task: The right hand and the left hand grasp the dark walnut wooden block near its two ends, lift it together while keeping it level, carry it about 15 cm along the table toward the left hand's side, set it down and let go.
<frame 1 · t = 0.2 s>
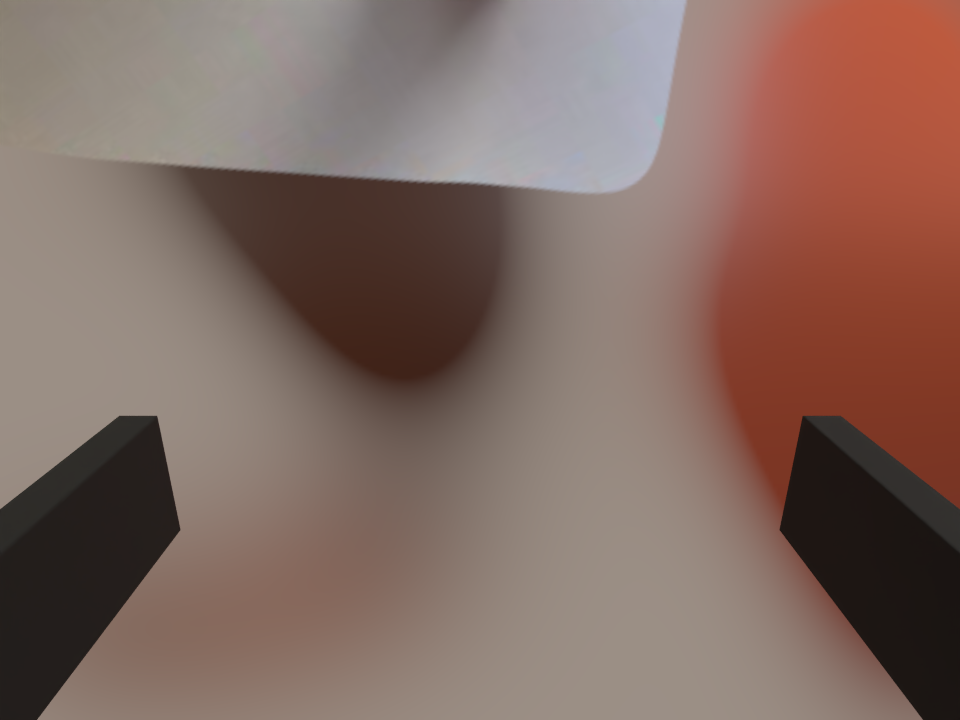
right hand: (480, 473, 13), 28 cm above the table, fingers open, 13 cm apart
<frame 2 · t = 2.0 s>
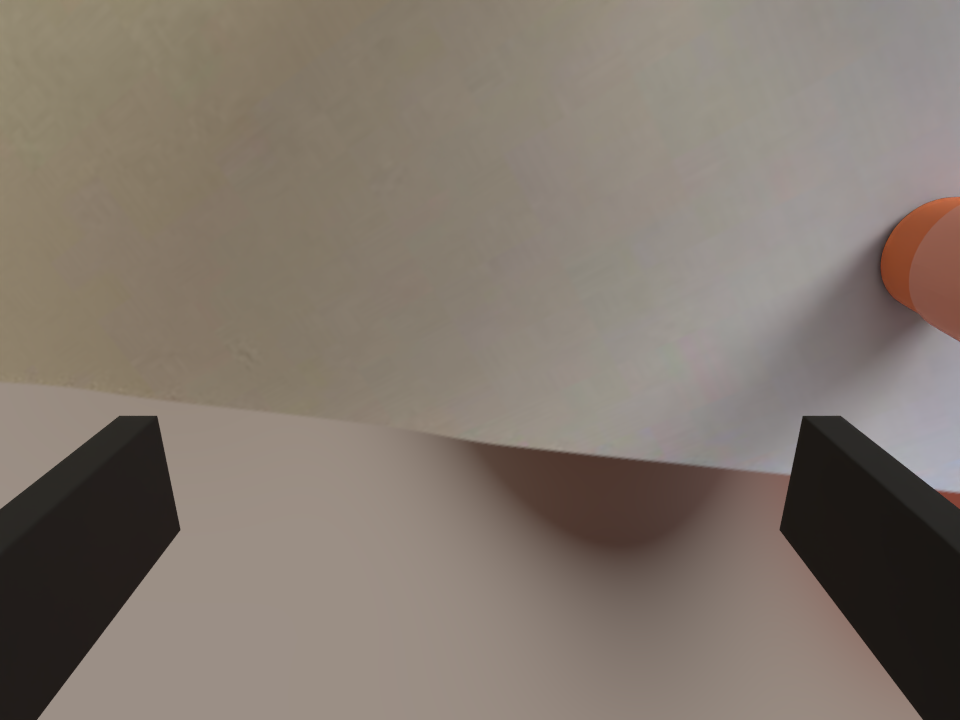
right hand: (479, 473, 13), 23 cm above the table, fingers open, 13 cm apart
cup with straw: (932, 253, 34), on the table
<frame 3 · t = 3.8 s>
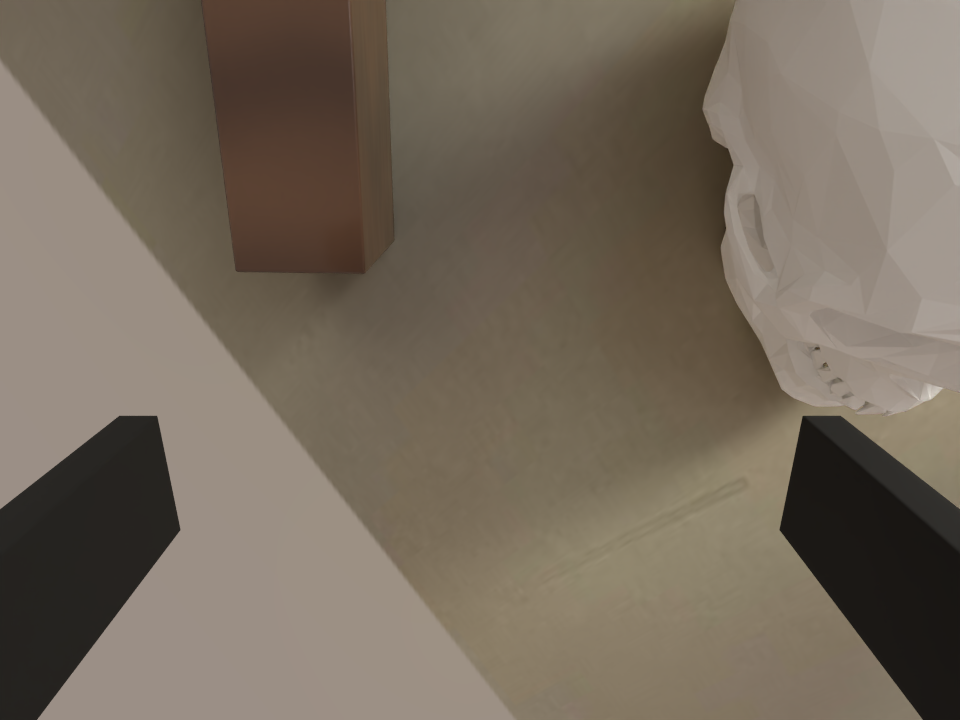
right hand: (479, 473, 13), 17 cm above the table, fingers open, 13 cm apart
skull: (830, 151, 26), on the table
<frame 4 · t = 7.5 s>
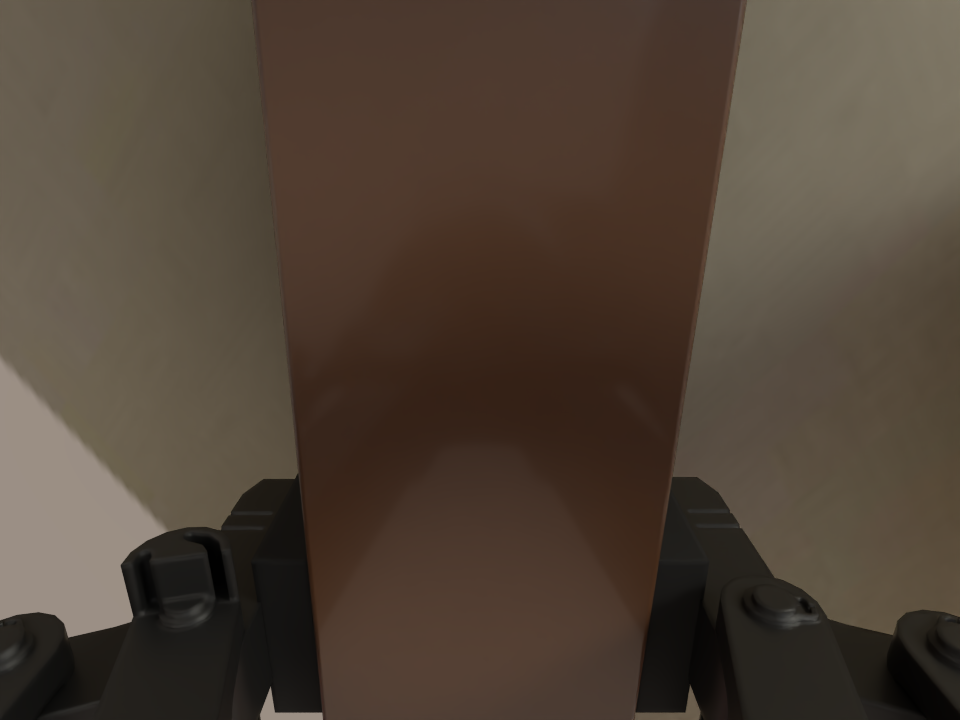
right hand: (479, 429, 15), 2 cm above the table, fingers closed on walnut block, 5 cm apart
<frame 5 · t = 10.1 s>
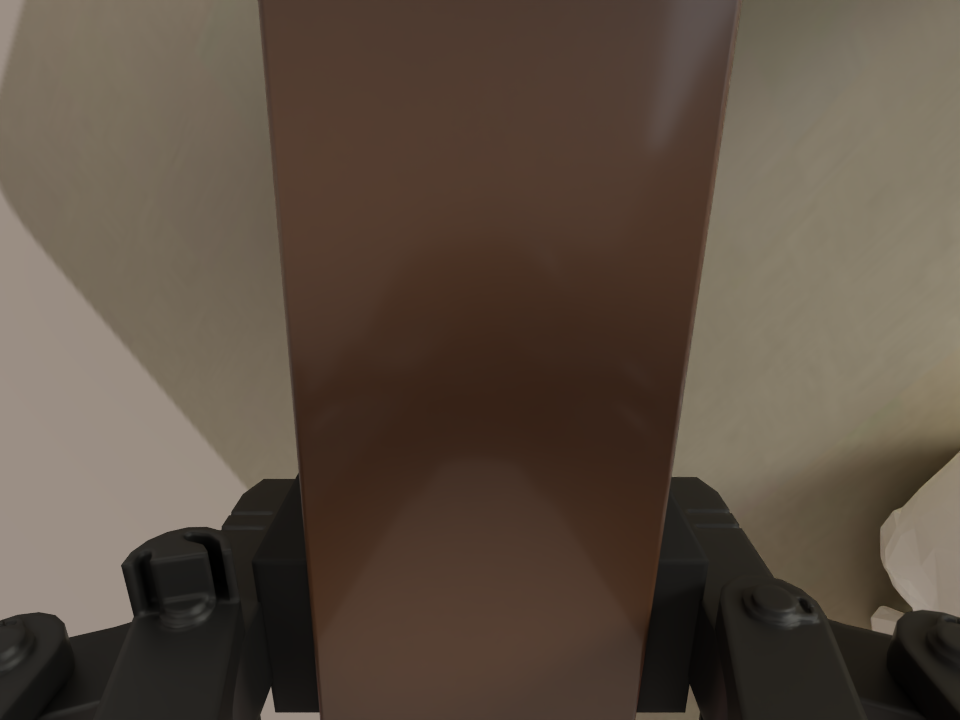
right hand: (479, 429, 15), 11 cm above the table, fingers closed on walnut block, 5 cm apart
when the right hand's fingers open (1 cm above the table, at t = 12.7 s): walnut block stays where it is, on the table.
when the left hand's fingers open (4 cm above the table, at t = 12.9 s): walnut block stays where it is, on the table.
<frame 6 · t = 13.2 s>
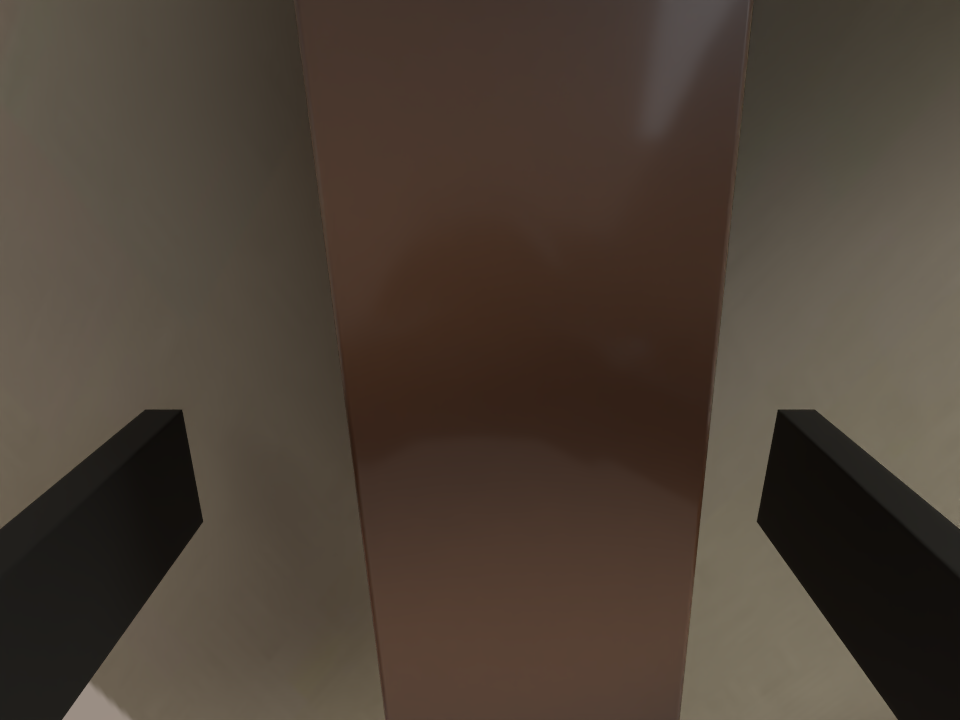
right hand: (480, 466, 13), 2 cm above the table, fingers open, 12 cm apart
walnut block: (498, 1, 12), on the table
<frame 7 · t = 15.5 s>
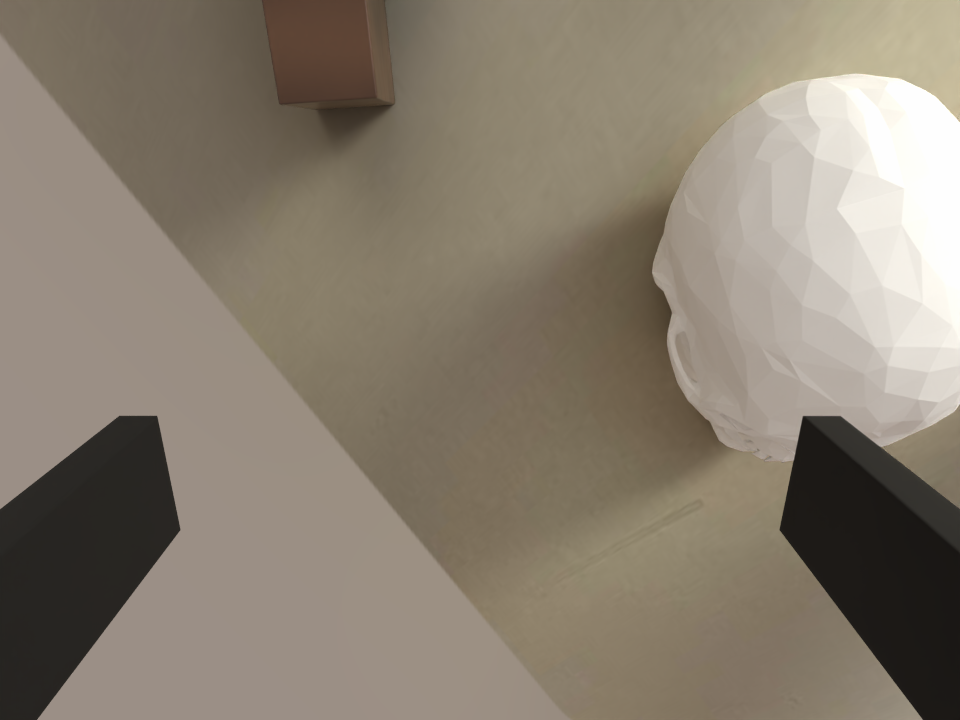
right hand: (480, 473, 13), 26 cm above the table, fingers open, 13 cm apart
skull: (743, 279, 38), on the table
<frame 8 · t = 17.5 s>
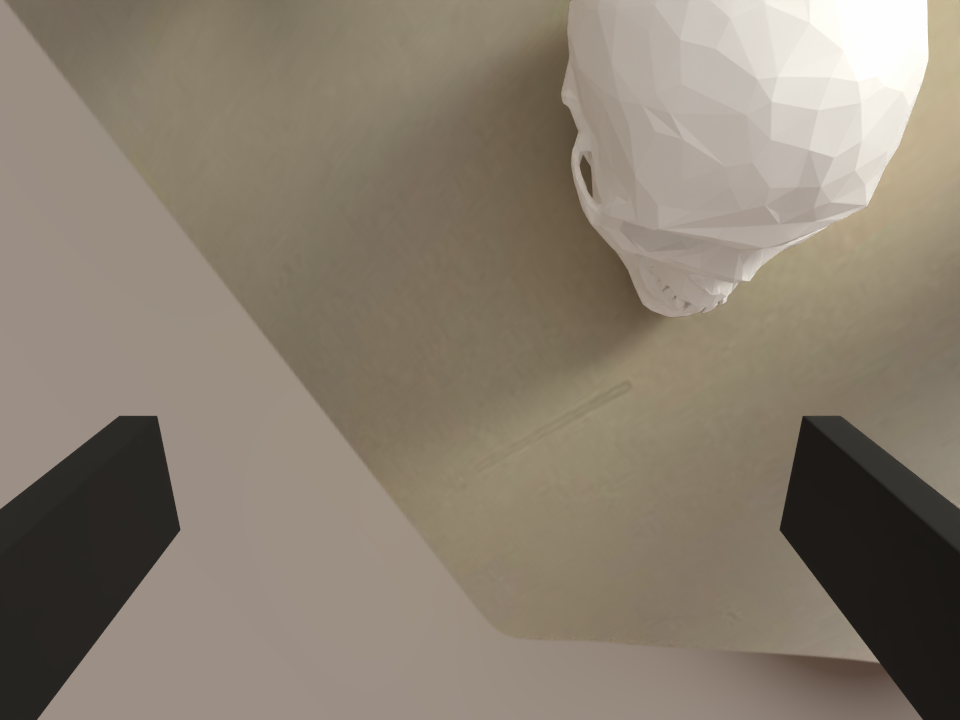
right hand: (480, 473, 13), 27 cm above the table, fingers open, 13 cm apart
skull: (669, 125, 35), on the table
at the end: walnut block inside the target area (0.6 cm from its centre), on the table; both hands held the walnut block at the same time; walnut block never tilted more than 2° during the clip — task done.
